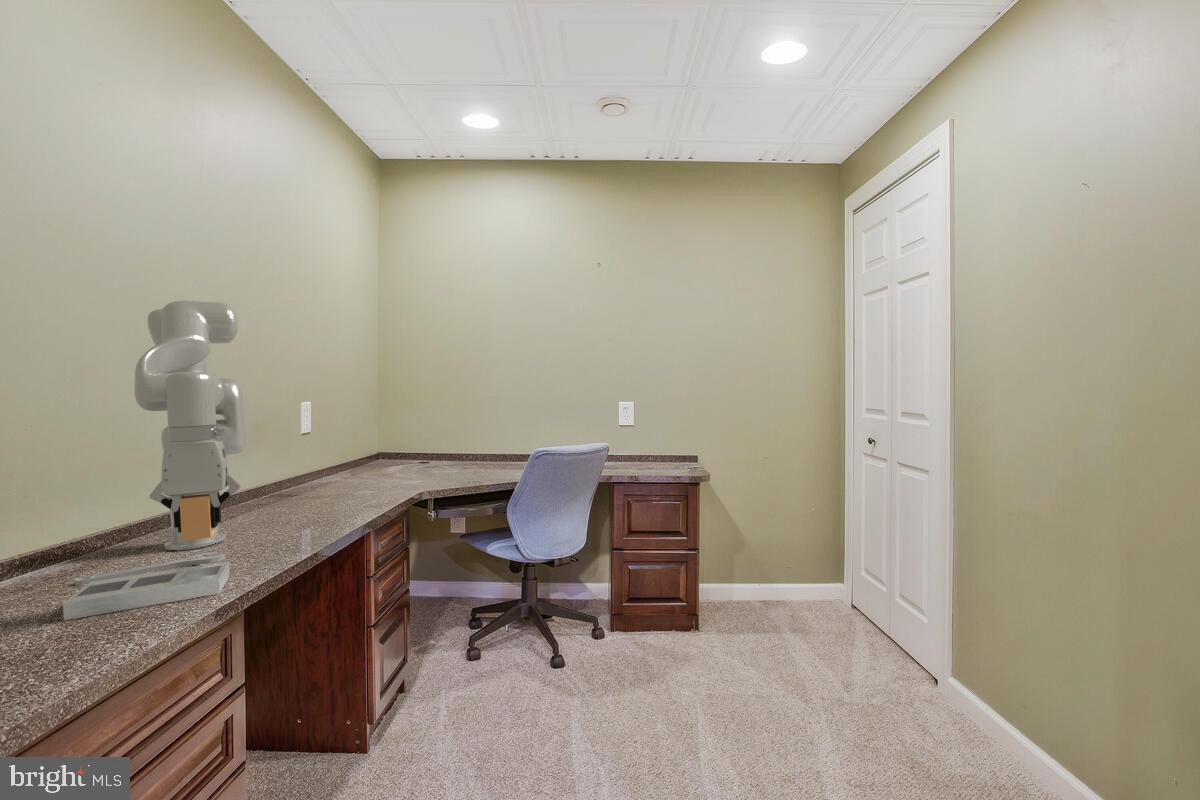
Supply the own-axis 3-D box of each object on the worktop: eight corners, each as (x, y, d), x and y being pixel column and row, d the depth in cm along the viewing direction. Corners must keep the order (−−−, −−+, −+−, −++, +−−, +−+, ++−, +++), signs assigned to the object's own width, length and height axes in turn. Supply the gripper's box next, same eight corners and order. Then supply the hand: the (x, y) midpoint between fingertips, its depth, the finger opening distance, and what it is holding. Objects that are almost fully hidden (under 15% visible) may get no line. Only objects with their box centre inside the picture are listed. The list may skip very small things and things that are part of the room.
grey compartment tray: (91, 597, 103) (90, 581, 103) (229, 575, 113) (229, 560, 113) (63, 620, 92) (62, 603, 92) (219, 593, 102) (218, 578, 102)
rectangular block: (187, 536, 106) (185, 495, 106) (215, 532, 108) (212, 492, 108) (181, 541, 102) (179, 499, 102) (210, 537, 104) (208, 496, 104)
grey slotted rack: (73, 589, 109) (72, 581, 109) (82, 580, 115) (81, 572, 115) (223, 563, 122) (222, 555, 122) (225, 556, 128) (224, 549, 128)
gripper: (247, 431, 112) (252, 518, 112) (143, 437, 104) (149, 531, 105) (242, 433, 105) (247, 526, 106) (131, 440, 98) (137, 540, 98)
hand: (198, 527), depth 105 cm, fingers closed on rectangular block, 4 cm apart
